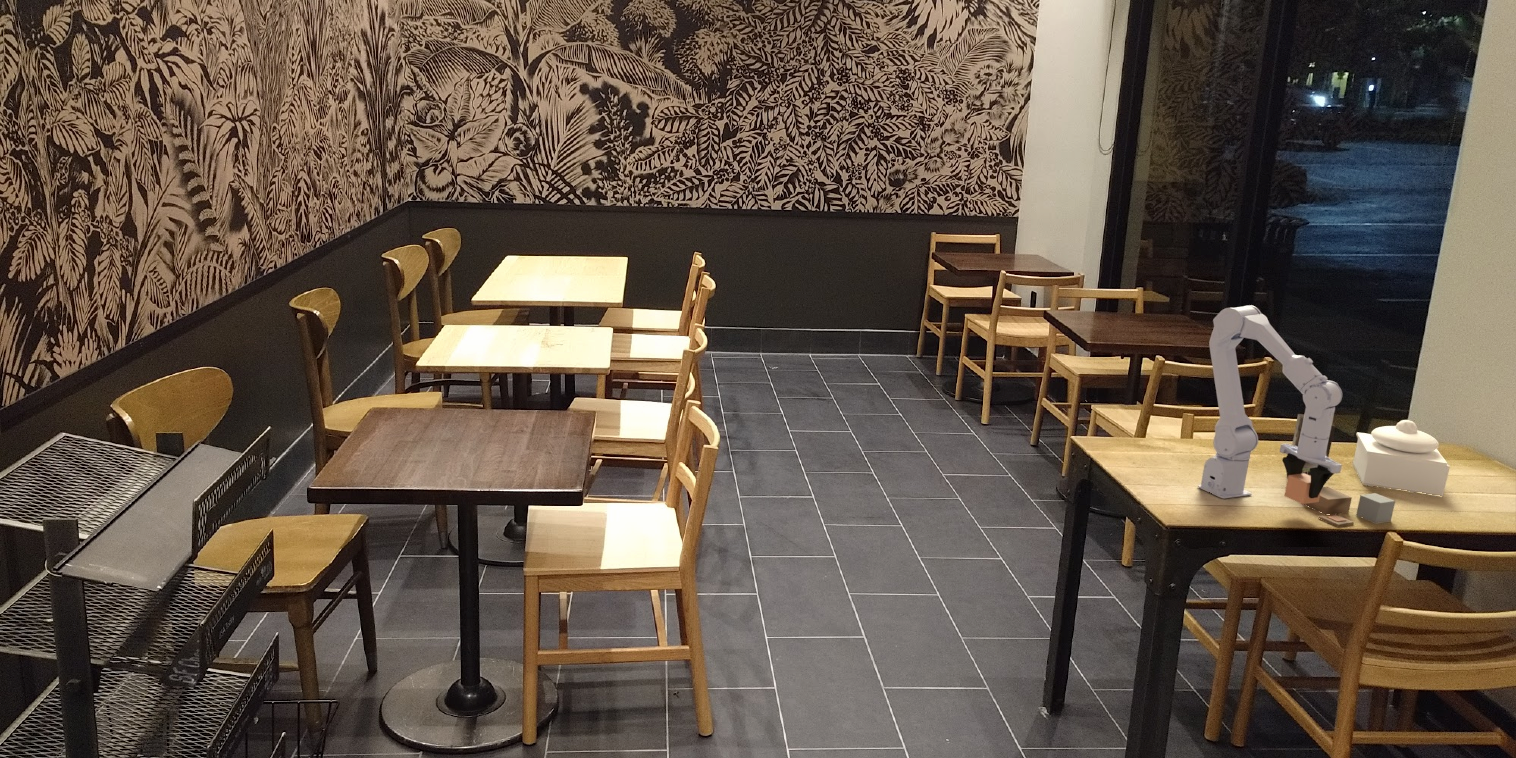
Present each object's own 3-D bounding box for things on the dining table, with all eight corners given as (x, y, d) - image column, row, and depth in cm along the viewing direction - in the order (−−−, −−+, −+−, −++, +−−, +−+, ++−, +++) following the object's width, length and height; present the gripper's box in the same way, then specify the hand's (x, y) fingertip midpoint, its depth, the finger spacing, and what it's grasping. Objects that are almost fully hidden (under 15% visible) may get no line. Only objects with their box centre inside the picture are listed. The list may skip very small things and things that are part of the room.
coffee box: (1323, 489, 271) (1336, 426, 267) (1294, 486, 272) (1307, 422, 268) (1312, 477, 280) (1325, 415, 275) (1285, 473, 281) (1297, 412, 276)
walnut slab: (1325, 515, 254) (1328, 499, 253) (1301, 504, 260) (1304, 488, 259) (1348, 513, 256) (1351, 497, 255) (1323, 502, 263) (1327, 486, 262)
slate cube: (1375, 523, 250) (1380, 503, 249) (1356, 515, 255) (1360, 495, 253) (1390, 521, 252) (1395, 500, 251) (1370, 513, 257) (1375, 493, 256)
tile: (1337, 527, 247) (1338, 523, 247) (1318, 518, 251) (1319, 515, 251) (1353, 524, 249) (1354, 521, 249) (1334, 516, 253) (1334, 512, 253)
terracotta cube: (1302, 504, 248) (1307, 482, 246) (1284, 496, 252) (1288, 475, 251) (1318, 501, 250) (1323, 480, 248) (1299, 493, 254) (1304, 473, 253)
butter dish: (1442, 498, 271) (1457, 435, 267) (1360, 485, 276) (1373, 423, 272) (1427, 476, 287) (1441, 417, 283) (1350, 464, 292) (1362, 406, 288)
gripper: (1355, 444, 242) (1343, 502, 246) (1300, 424, 255) (1288, 480, 258) (1333, 446, 239) (1320, 505, 243) (1277, 426, 252) (1266, 482, 255)
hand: (1302, 492), depth 250 cm, fingers closed on terracotta cube, 5 cm apart
